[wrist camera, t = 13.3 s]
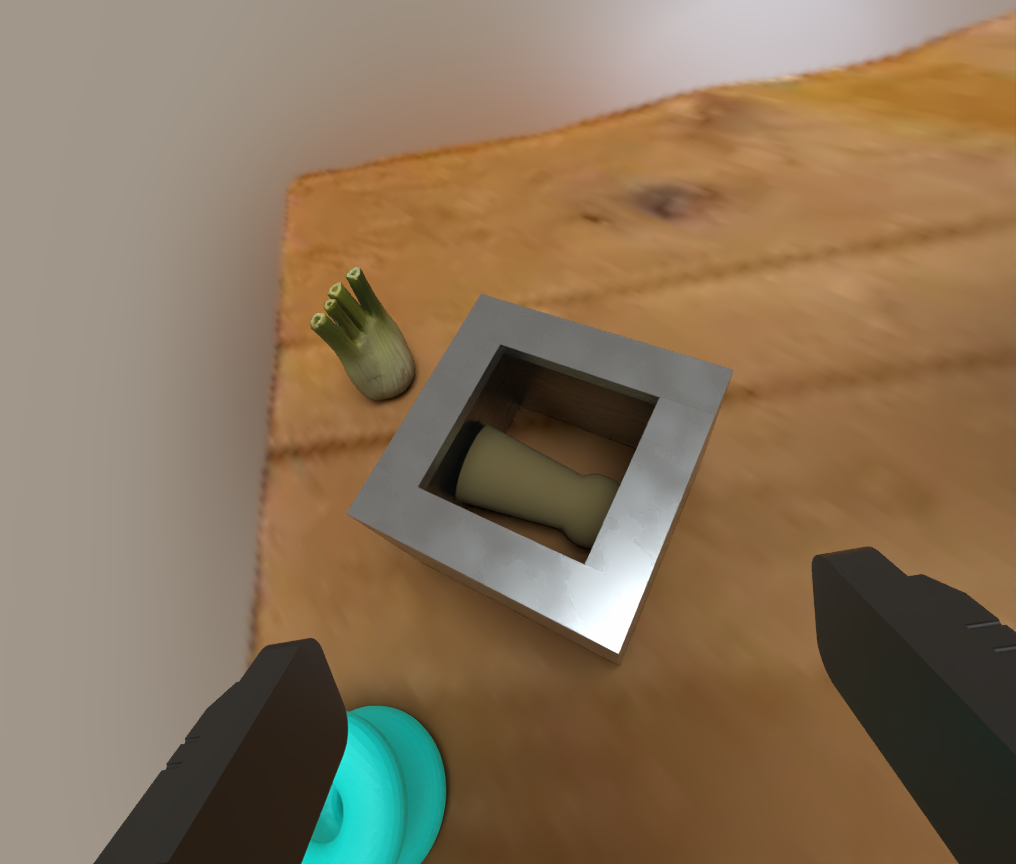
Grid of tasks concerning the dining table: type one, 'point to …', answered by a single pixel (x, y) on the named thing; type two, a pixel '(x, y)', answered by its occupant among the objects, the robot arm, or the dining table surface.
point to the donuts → (382, 793)
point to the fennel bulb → (365, 339)
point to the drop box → (569, 398)
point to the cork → (534, 487)
